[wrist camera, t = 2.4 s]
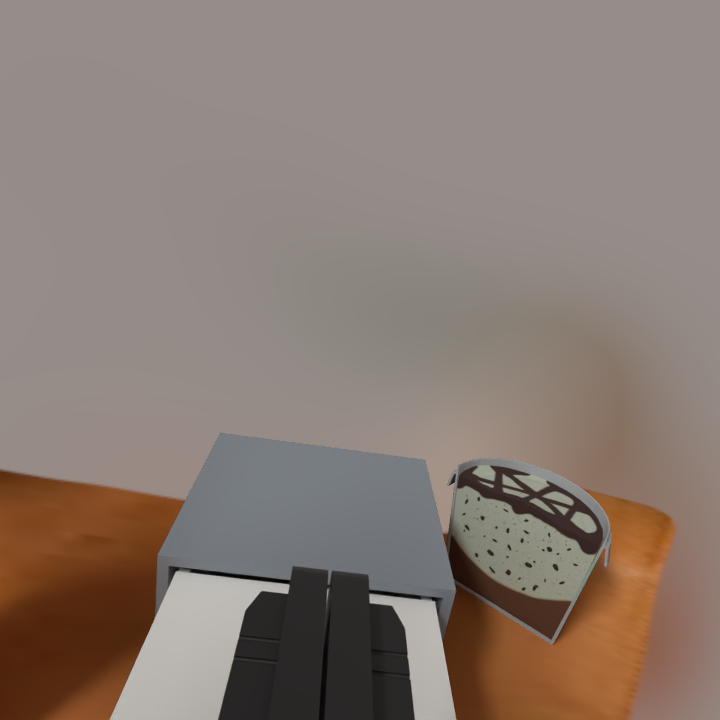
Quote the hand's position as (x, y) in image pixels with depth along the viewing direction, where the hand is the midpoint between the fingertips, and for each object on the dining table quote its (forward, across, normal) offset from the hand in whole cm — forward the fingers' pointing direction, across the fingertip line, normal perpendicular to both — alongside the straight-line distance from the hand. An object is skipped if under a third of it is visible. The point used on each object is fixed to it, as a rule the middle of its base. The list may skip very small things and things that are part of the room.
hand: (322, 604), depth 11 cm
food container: (+27, -17, +22) cm, 39 cm away
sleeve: (+22, 0, +22) cm, 31 cm away
